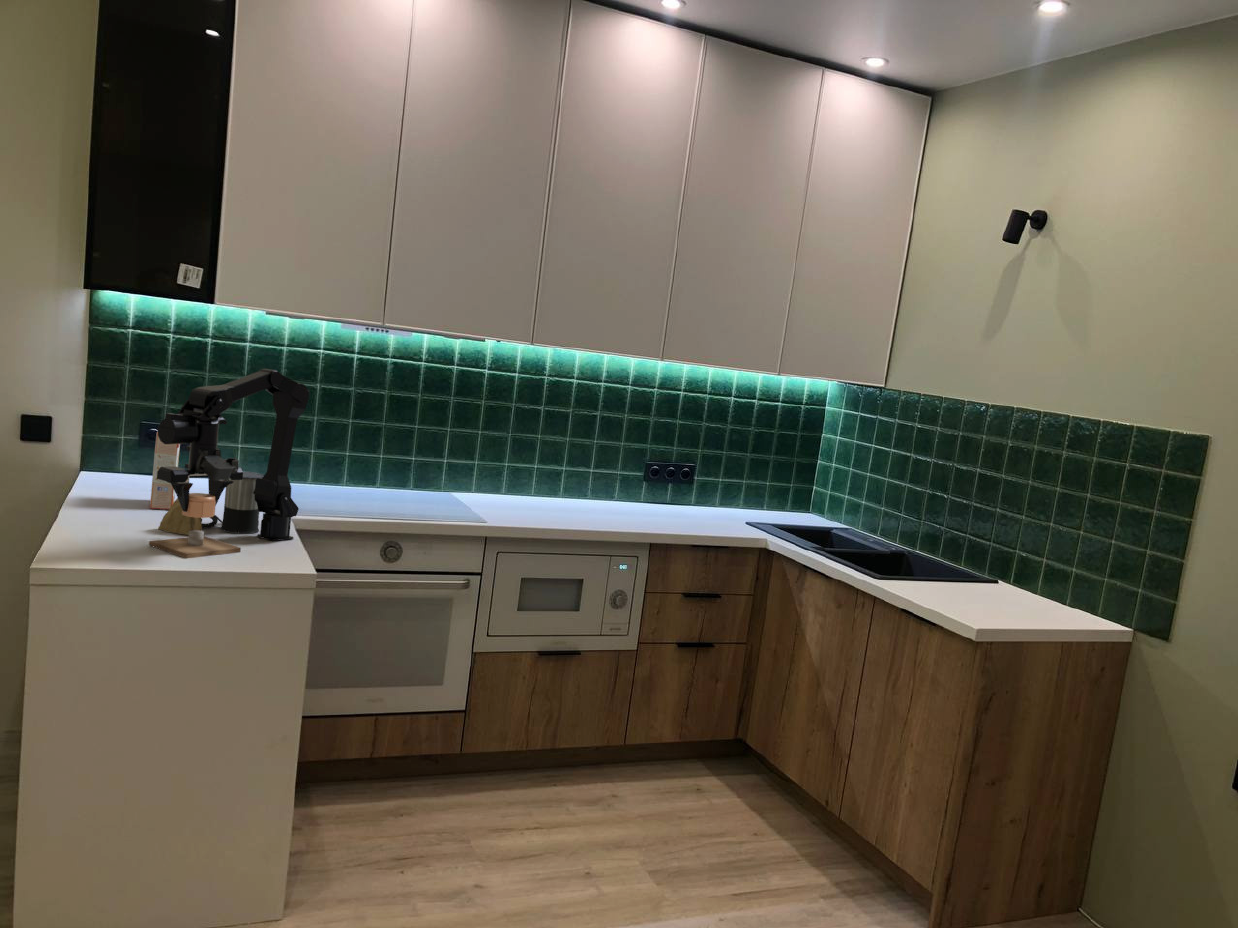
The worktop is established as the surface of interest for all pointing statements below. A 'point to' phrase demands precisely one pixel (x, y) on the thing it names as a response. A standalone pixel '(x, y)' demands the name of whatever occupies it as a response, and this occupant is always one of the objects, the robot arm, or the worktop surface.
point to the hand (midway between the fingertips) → (198, 510)
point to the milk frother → (239, 506)
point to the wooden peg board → (195, 545)
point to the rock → (179, 521)
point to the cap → (200, 505)
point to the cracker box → (162, 489)
